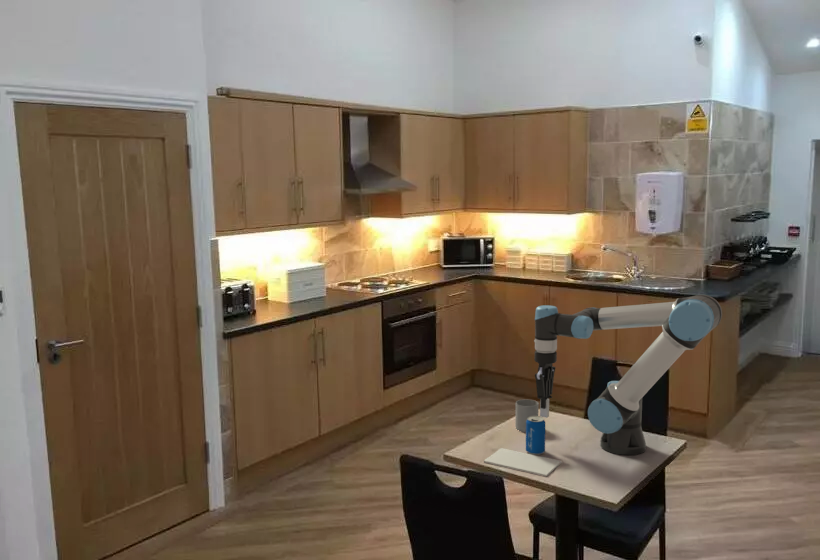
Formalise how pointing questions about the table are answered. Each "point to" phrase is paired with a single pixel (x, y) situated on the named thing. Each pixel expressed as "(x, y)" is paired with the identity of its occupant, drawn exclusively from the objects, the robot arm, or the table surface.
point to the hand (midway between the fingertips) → (544, 416)
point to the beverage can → (535, 435)
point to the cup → (525, 412)
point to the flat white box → (523, 462)
